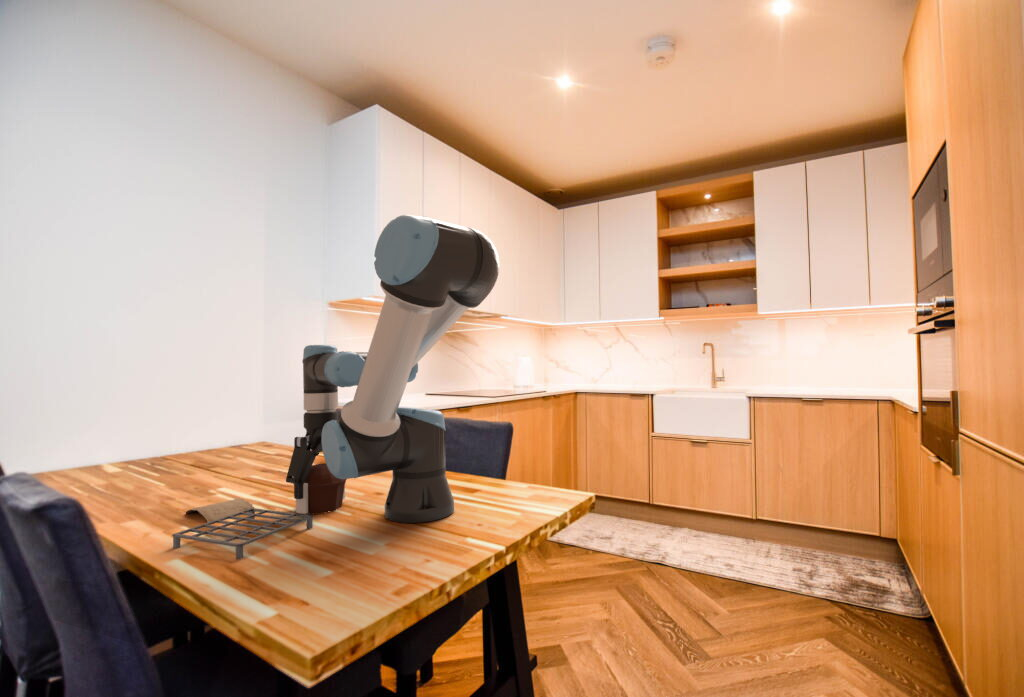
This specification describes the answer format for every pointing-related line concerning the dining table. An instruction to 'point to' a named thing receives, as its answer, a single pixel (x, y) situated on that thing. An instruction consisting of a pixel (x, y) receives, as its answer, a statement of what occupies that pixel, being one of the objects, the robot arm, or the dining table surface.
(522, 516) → the dining table surface
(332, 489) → the muffin
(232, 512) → the curved bark piece
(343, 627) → the dining table surface
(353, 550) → the dining table surface
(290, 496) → the dining table surface
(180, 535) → the cooling rack
